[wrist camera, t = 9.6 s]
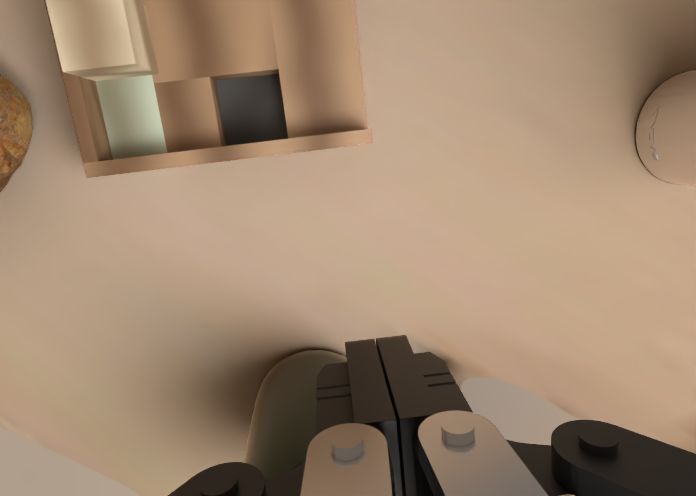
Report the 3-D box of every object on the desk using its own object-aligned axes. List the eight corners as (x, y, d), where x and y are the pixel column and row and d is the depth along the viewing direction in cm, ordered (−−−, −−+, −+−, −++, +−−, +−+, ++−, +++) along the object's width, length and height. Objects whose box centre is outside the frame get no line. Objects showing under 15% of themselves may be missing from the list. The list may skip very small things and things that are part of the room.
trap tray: (339, -110, 34) (342, -151, 30) (366, 143, 38) (373, 143, 34) (59, -81, 34) (16, -119, 29) (116, 173, 38) (86, 177, 33)
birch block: (145, 6, 33) (119, -15, 29) (159, 73, 34) (135, 63, 30) (80, 13, 33) (44, -7, 29) (95, 81, 34) (62, 72, 30)
